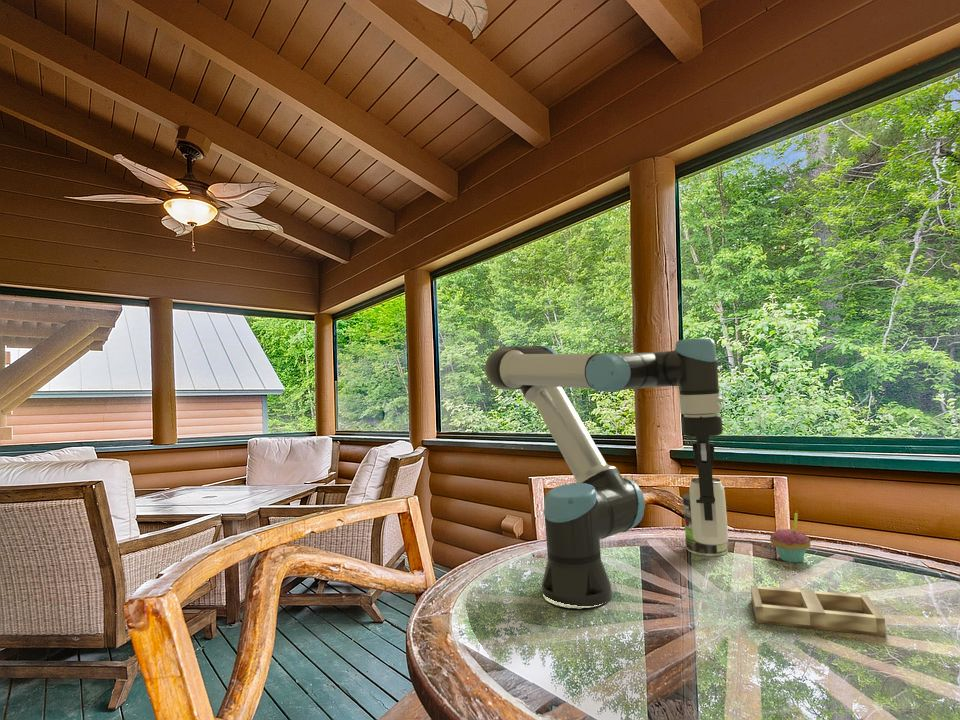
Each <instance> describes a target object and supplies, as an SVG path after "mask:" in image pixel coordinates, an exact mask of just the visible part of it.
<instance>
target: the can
mask: <svg viewBox="0 0 960 720" xmlns="http://www.w3.org/2000/svg"><path fill="white" fill-rule="evenodd" d="M690 481H691V483H690V485H689V493H690V505H691V518H692V531H693V539H694V540H695V541H696V542H698V543H700V544H704V545H723V544H725V543H727V544H728V541H729V532H728V531H729V529H728V517H727V516H728V515H727V503H726V494H725V493H726V491H725V488H724V486H723V483H722V480H721V479H720V478H716V477H713V490H714V498H715V508H716V521H717V534H718V537H703V536H702V524H701V510H700V503H696V499H697V500H700V499H699V497H700V488H699V477H696V478H695V477H694V478H692V479H690ZM704 496H710V495H704Z"/></svg>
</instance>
